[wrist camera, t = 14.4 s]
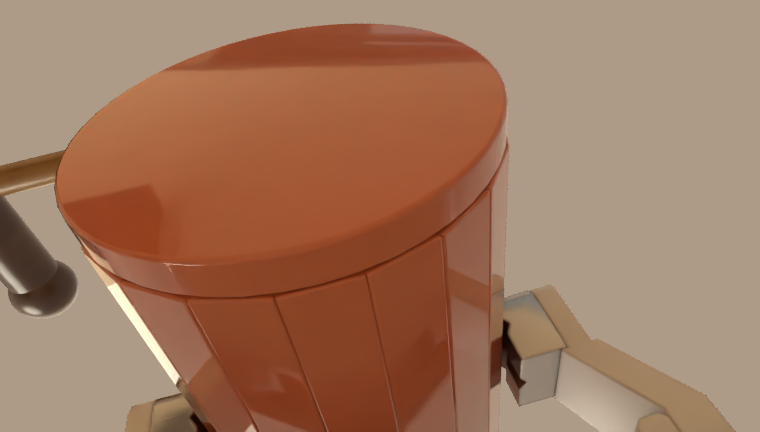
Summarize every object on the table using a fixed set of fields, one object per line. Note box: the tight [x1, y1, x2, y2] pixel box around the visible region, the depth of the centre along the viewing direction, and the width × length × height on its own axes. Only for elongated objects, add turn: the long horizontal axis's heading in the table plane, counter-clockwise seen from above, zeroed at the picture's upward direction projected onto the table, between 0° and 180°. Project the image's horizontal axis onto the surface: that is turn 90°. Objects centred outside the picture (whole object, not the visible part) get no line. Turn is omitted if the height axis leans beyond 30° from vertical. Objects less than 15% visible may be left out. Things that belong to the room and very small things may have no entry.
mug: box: [54, 24, 509, 432], centre depth 12 cm, size 10×6×10 cm, turn 167°
